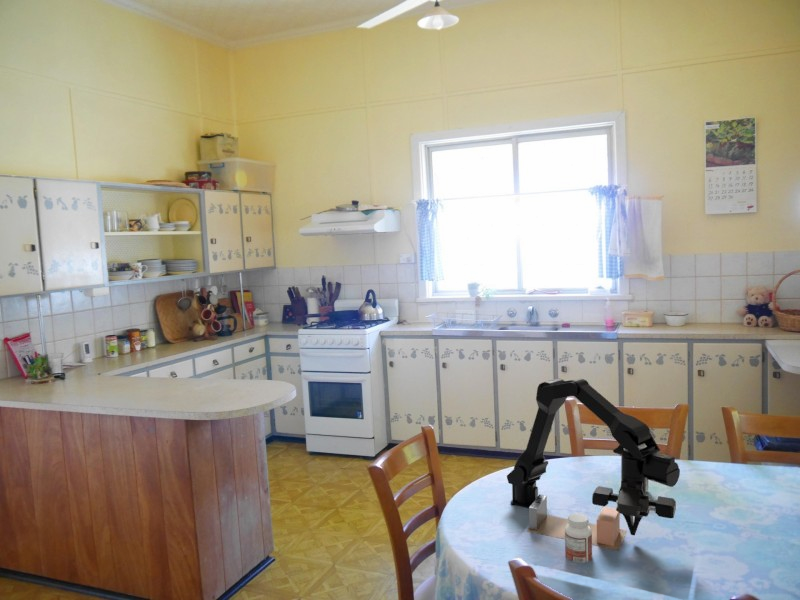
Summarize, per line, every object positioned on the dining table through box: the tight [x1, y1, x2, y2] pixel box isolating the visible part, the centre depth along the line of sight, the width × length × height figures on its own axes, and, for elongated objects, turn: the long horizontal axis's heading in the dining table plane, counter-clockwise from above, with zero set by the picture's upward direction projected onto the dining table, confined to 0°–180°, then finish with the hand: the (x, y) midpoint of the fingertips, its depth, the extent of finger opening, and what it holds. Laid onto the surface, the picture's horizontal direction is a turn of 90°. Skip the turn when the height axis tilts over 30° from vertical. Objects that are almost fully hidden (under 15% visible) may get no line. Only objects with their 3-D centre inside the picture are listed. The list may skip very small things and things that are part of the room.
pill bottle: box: [564, 512, 593, 563], centre depth 149 cm, size 6×6×11 cm
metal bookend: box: [528, 493, 548, 531], centre depth 166 cm, size 2×9×6 cm, turn 150°
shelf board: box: [526, 514, 627, 551], centre depth 162 cm, size 23×11×2 cm, turn 60°
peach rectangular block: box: [596, 506, 621, 546], centre depth 157 cm, size 4×8×6 cm, turn 150°
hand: (633, 534), depth 155 cm, fingers closed
